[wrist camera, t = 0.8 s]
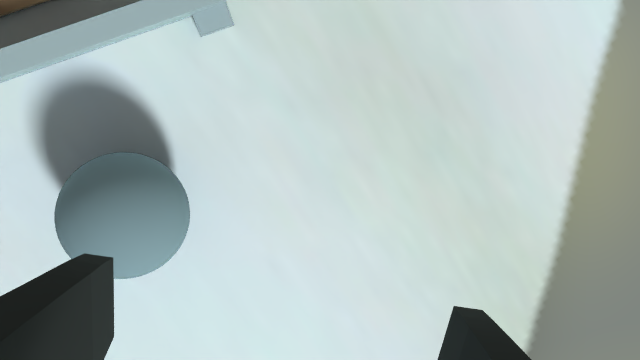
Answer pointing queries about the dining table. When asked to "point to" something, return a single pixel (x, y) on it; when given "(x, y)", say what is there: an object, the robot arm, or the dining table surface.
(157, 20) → the grey bar
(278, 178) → the dining table surface
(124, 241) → the ball
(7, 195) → the dining table surface
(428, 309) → the dining table surface
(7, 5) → the ring cradle
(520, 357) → the robot arm
